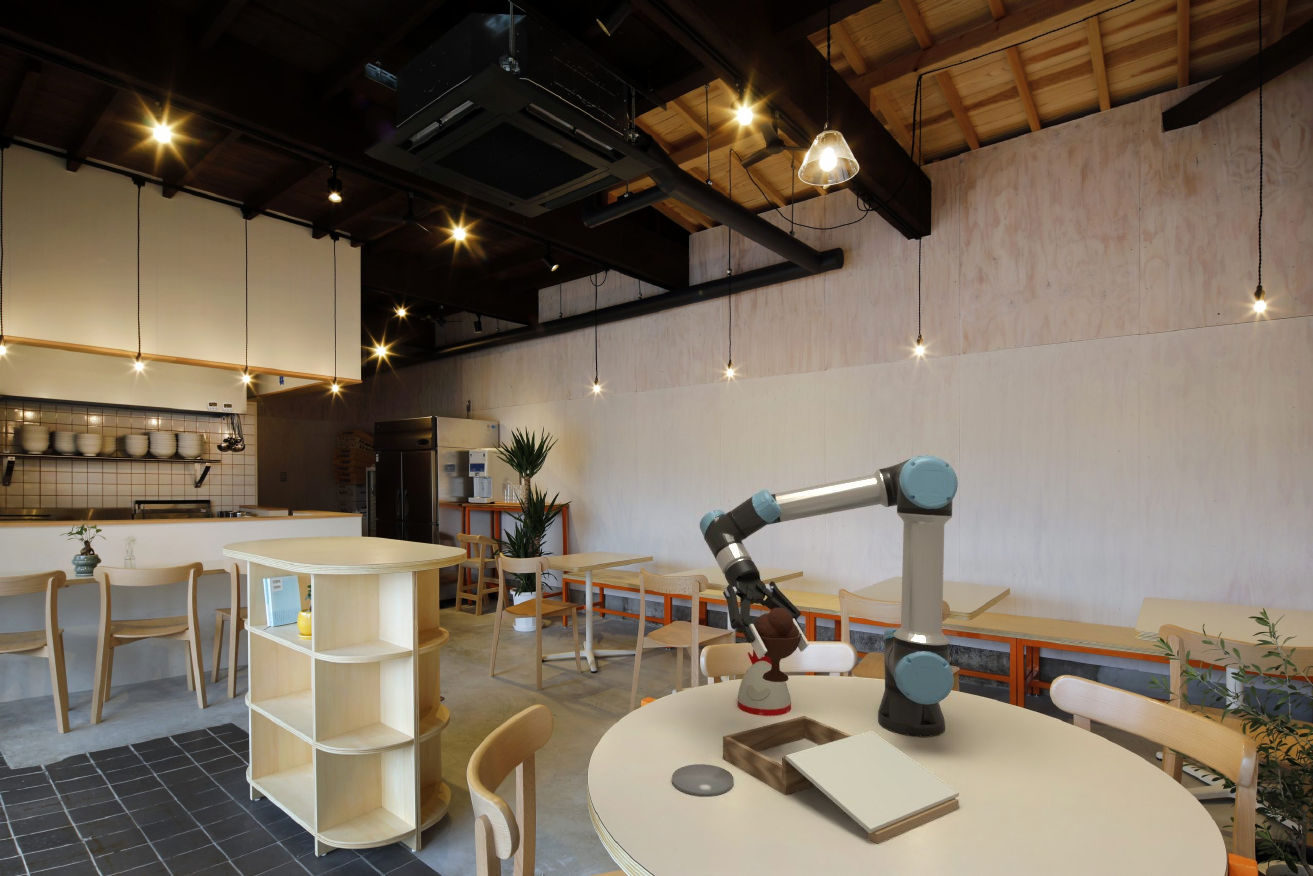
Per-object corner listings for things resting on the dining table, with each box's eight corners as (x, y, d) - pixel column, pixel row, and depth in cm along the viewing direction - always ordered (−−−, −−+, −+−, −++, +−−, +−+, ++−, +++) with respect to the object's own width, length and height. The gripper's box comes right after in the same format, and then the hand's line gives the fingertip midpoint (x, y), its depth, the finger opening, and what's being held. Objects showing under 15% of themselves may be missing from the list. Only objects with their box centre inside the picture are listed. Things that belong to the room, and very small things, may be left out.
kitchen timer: (745, 695, 178) (745, 640, 179) (795, 702, 172) (794, 645, 174) (731, 711, 165) (731, 651, 166) (784, 719, 160) (784, 657, 161)
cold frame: (871, 766, 133) (871, 733, 133) (785, 795, 120) (785, 759, 121) (804, 736, 149) (804, 707, 149) (722, 758, 136) (722, 726, 137)
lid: (962, 807, 116) (960, 765, 116) (873, 845, 103) (872, 799, 104) (871, 766, 133) (870, 730, 133) (785, 795, 120) (785, 755, 121)
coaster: (744, 778, 127) (744, 774, 127) (715, 802, 117) (715, 798, 117) (692, 763, 134) (692, 759, 134) (660, 785, 124) (660, 781, 124)
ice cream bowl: (803, 674, 140) (803, 604, 142) (797, 689, 130) (797, 613, 131) (755, 668, 144) (756, 600, 145) (745, 682, 134) (745, 609, 135)
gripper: (769, 575, 158) (815, 654, 143) (690, 581, 145) (732, 668, 131) (784, 555, 153) (833, 635, 139) (704, 560, 141) (749, 648, 127)
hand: (784, 651), depth 135 cm, fingers closed on ice cream bowl, 11 cm apart
